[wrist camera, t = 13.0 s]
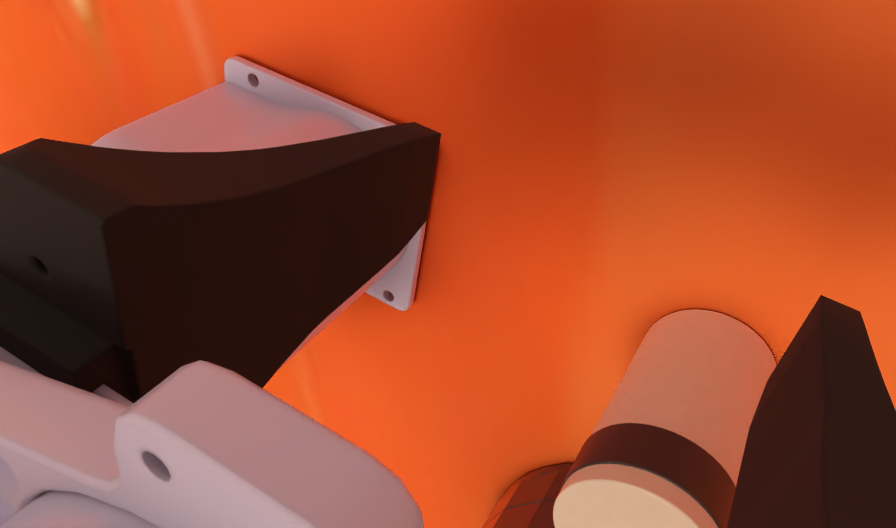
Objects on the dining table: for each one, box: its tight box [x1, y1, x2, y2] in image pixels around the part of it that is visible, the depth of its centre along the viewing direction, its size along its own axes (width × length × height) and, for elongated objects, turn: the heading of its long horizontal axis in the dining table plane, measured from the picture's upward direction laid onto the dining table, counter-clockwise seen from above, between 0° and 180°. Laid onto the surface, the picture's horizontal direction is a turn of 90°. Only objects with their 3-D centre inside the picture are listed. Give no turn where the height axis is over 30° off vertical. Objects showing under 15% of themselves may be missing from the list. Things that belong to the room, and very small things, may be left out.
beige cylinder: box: [553, 309, 776, 528], centre depth 22 cm, size 4×4×8 cm
